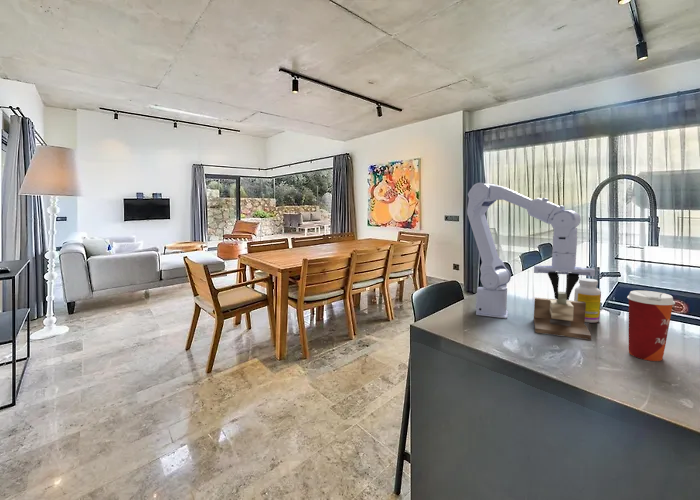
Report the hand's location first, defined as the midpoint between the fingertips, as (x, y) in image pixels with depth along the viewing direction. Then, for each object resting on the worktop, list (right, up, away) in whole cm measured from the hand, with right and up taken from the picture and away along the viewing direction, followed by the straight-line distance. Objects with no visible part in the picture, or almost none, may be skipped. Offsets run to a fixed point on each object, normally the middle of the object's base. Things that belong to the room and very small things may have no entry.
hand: (561, 298), depth 94 cm
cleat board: (0, -9, +1) cm, 9 cm away
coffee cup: (+9, -11, -17) cm, 22 cm away
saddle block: (0, -5, 0) cm, 5 cm away
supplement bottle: (+13, -8, +8) cm, 17 cm away
